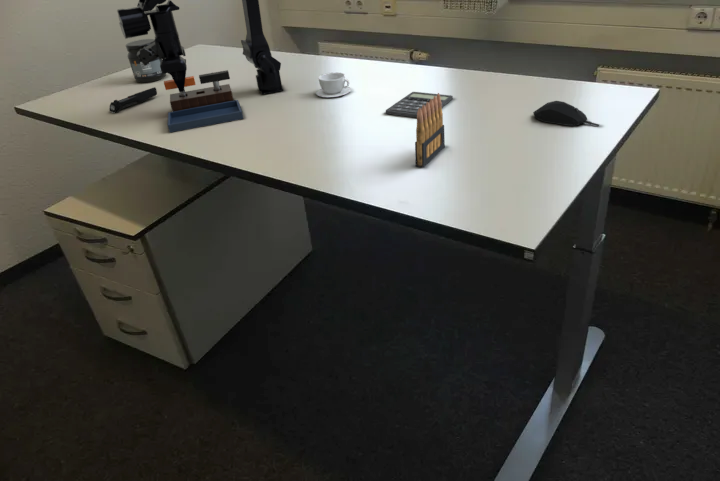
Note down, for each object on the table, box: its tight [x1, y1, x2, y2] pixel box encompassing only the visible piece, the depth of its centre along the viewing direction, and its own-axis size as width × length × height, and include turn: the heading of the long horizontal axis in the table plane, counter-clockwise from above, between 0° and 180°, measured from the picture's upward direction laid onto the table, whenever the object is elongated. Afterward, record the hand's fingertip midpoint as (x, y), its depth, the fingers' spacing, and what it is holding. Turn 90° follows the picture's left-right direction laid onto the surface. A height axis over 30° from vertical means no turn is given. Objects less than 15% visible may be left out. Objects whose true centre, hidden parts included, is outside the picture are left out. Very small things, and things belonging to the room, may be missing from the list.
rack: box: [169, 83, 234, 112], centre depth 153 cm, size 17×7×4 cm, turn 106°
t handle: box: [163, 75, 197, 97], centre depth 151 cm, size 8×2×9 cm, turn 106°
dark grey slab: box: [198, 69, 231, 91], centre depth 153 cm, size 8×2×9 cm, turn 106°
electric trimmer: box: [108, 86, 158, 114], centre depth 163 cm, size 4×16×3 cm, turn 142°
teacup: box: [315, 72, 352, 98], centre depth 154 cm, size 10×10×5 cm
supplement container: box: [125, 38, 167, 84], centre depth 183 cm, size 10×10×12 cm
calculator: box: [385, 91, 454, 118], centre depth 139 cm, size 12×1×15 cm
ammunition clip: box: [414, 92, 446, 168], centre depth 111 cm, size 11×2×12 cm, turn 149°
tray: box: [167, 99, 244, 133], centre depth 146 cm, size 19×11×2 cm, turn 106°
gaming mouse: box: [532, 100, 600, 127], centre depth 122 cm, size 6×15×4 cm, turn 49°
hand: (181, 90), depth 150 cm, fingers closed
